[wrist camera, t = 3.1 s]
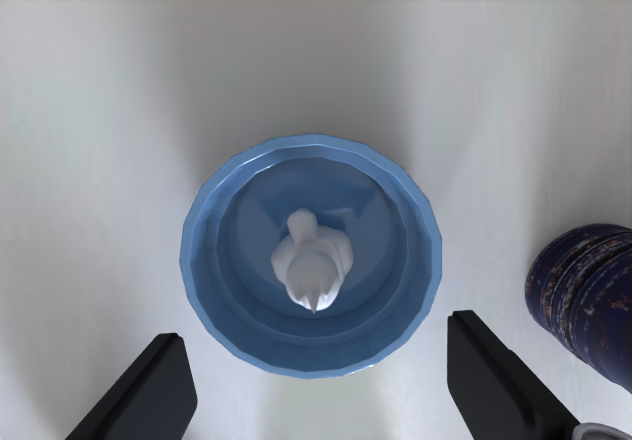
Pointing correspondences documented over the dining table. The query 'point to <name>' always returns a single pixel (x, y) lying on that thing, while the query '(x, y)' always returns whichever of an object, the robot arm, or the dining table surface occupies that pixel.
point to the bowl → (271, 228)
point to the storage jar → (588, 297)
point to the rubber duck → (312, 260)
